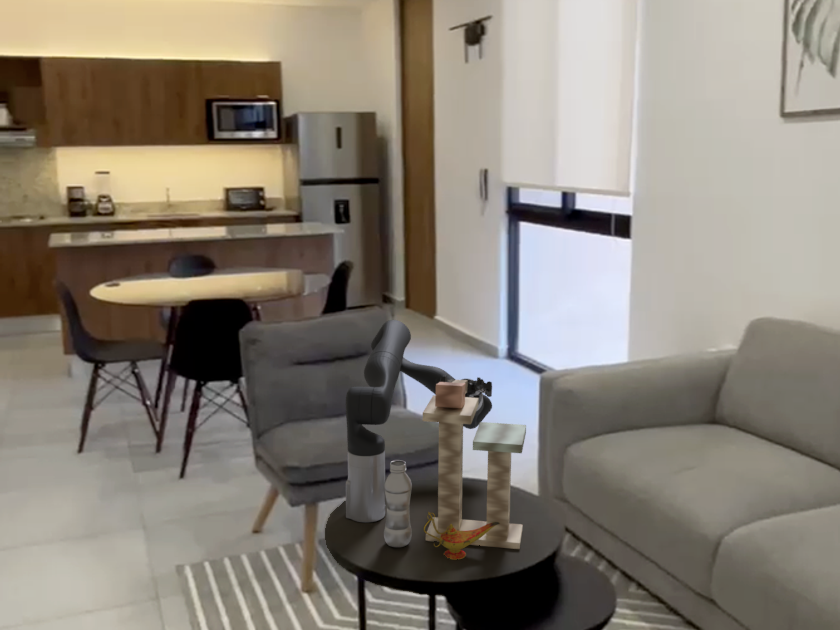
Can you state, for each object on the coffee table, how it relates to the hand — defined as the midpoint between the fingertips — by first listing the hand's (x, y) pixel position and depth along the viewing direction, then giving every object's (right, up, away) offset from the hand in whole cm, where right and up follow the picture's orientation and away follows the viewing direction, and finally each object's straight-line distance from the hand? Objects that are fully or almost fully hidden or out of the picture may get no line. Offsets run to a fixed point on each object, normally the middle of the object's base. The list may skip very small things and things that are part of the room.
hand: (461, 380), depth 210 cm
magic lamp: (-1, -38, -16) cm, 42 cm away
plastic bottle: (-15, -38, -12) cm, 42 cm away
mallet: (-2, -5, -6) cm, 8 cm away
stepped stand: (+3, -36, -7) cm, 37 cm away
